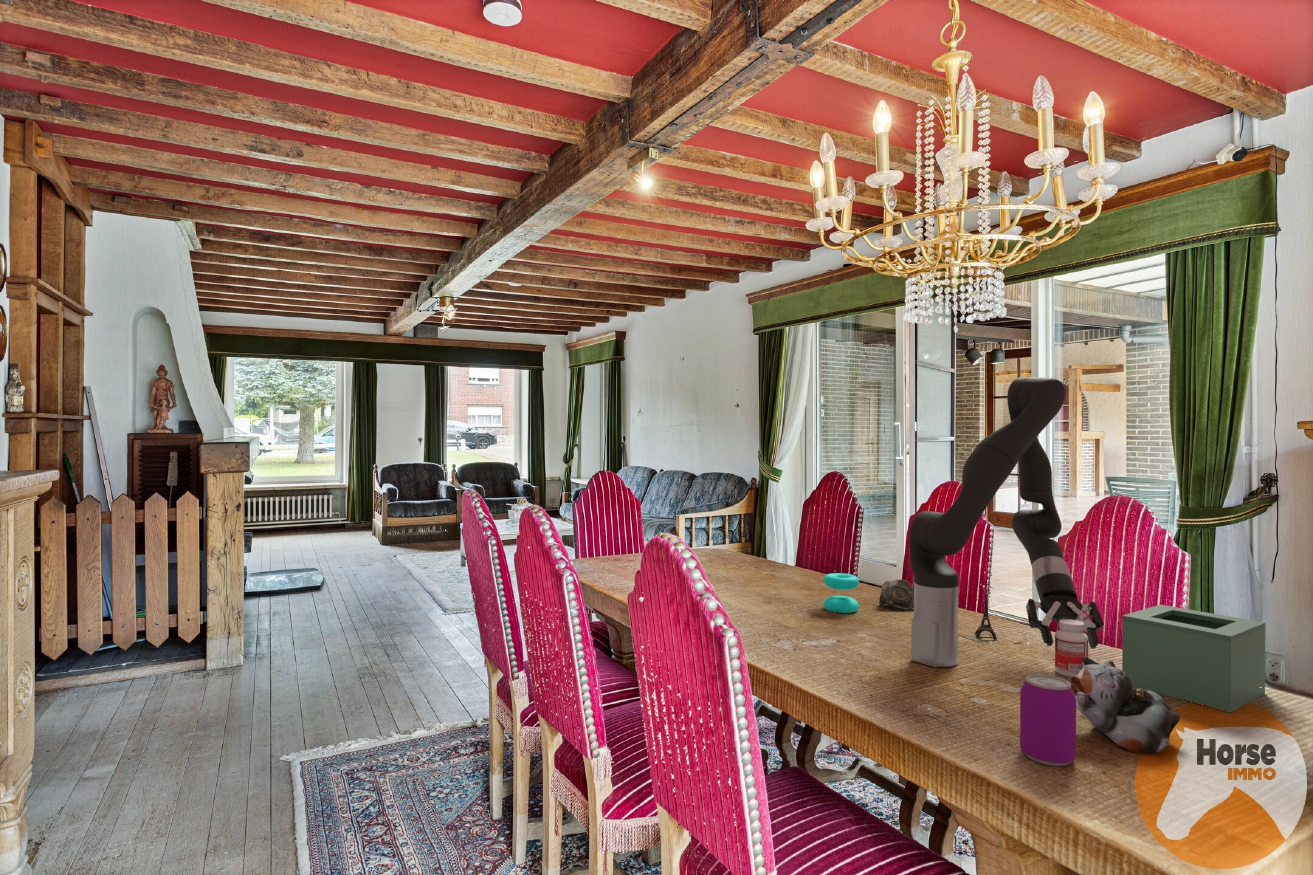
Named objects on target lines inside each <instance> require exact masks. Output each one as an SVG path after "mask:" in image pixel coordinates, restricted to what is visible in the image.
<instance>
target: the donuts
mask: <svg viewBox="0 0 1313 875" xmlns="http://www.w3.org/2000/svg"><path fill="white" fill-rule="evenodd" d="M823 583H824V585H825V586H827V587H828V588H830V589H833V590H838V591H839V590H841V591H850V590H853V589H855V588H857V587H858V586H859V584H860V580H859V578H858V577H857V576H856V575H853V574H851V573H844V572H843V573H841V572H839V573H837V572H836V573H834V572H833V573H828V574H826V575H824V576H823ZM822 605H823V608H824V609H825V610H826V611H828V610H829V611H828V612H831V611H833V612H832V613H836V612H838V613H837V614H852V612H853V613H855V612H857V611H858V610H859V609H860V608H859V607H860V605H859V602H858V601H857V600H856V599H855V598H854V597H850V596H846V595H845V596H844V595H832V596H829V597H826V598H825V599H824V600H823V602H822Z"/></svg>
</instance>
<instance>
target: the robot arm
mask: <svg viewBox="0 0 1313 875" xmlns="http://www.w3.org/2000/svg"><path fill="white" fill-rule="evenodd" d="M1066 391H1067V390H1066V386H1065V384H1064V383H1063V382H1062V381H1060V380H1059V379H1057V378H1054V377H1039V376H1036V377H1035V376H1021V377H1017V378H1015V379H1014V380H1012V382H1011V383H1010V384H1009V386H1008V389H1007V397H1006V398H1007V409H1008V413H1009V419H1010V422H1009V423H1007V424H1006V425H1004V426H1002V427H1000V428H998V429H997V430H995V431H993V432H991V434H989V435H987V436H986V437H984V438H983V439H982V440H980V442H979V443H978V444H977V445H976V446H975V448H974V449H973V450H972V452H970V454H969V456H968V457H967V458H966V460H965V462H964V465H963V468H962V471H961V472H962V474H961V488H960V492H959V494H958V495H957V497H956V499H955V500H954V502H953V503H952V504H951V506H950V507H949V508H948V509H947V510H946V511H945V512H937V511H927V510H926V511H925V510H924V511H921V512H919V513H917V514H916V515H915V516H914V517H913V519H912V522H911V524H910V528H909V538H908V539H909V558H910V560H909V561H910V568H911V571H912V574H913V581H914V582H913V586H914V587H913V588H914V608H913V617H912V618H911V629H910V630H911V639H910V641H911V643H910V644H911V645H910V647H911V648H910V649H911V650H910V654H911V656H910V657H911V658H910V659H911V661H913V662H917V663H920V664H923V665H926V666H929V667H933V668H937V667H940V668H941V667H943V668H944V667H945V668H947V667H953V666H956V665H958V664H959V662H958V660H959V658H958V657H959V656H958V655H959V654H958V653H959V642H958V641H959V635H958V634H959V574H958V573H957V571H956V570H954V569H953V567H951V566H950V565H949V564H948V562H947V560H946V557H950V556H954V555H956V554H958V553H959V552H960V551H962V549H963V548H964V547H965V545H966V544H967V542H968V541H969V539H970V537H971V536H972V534H973V532H974V530H975V528H976V526H977V524H978V522H979V521H980V518H981V517H982V515H983V514H984V512H985V510H986V509H987V507H988V506H989V505H990V503H991V501H992V500H993V498H994V496H995V495H996V493H997V492H998V490H1000V488H1001V486H1002V485H1003V484H1004V482H1006V480H1007V479H1008V478H1009V476H1010V475H1011V473H1012V472H1013V470H1014V469H1015V467H1016V466H1017V464H1018V478H1019V479H1018V484H1019V485H1018V486H1019V497H1020V498H1021V500H1024V501H1025V502H1028V503H1034V504H1040V505H1042V509H1041V508H1040V509H1021V510H1018V511H1016V512H1015V513H1014V514H1013V516H1012V518H1011V527H1012V530H1013V532H1014V534H1015V536H1016V537H1017V539H1018V541H1019V542H1020V543H1021V545H1022V546H1023V547H1024V549H1025V550H1026V553H1027V554H1028V558H1029V561H1030V564H1031V569H1032V570H1031V571H1032V577H1033V582H1034V584H1035V587H1036V592H1037V595H1038V598H1039V601H1035V599H1033V598H1028V600H1027V603H1026V605H1025V608H1026V614H1027V619H1028V624H1029V627H1030V628H1031V629H1034V628H1035V629H1038V630H1039V631H1040V634H1041V639H1042V642H1043V643H1044V644H1046V646H1047V647H1052V646H1053V644H1054V638H1053V634H1052V631H1051V627H1050V624H1051V622H1052V621H1055V622H1056V623H1059V620H1062V619H1071V620H1077V621H1081V622H1083V623H1084V631H1085V634H1086V635H1087V636H1088V645H1089V647H1090V649H1091V650H1092V649H1093V650H1094V649H1096V648H1097V647H1098V645H1099V643H1100V639H1099V636H1098V633H1097V632H1099V633H1100V632H1101V630H1102V629H1103V627H1104V626H1105V622H1104V620H1103V617H1102V615H1101V613H1100V611H1099V608H1098V606H1097V604H1096V602H1094V601H1090V602H1089V603H1081V601H1080V600H1079V599H1078V593H1077V591H1076V588H1075V585H1074V581H1073V579H1072V576H1071V573H1070V570H1069V567H1068V565H1067V562H1066V561H1065V557H1064V554H1063V552H1062V548H1061V545H1060V543H1059V542H1058V541H1056V540H1055V539H1054V538H1057V537H1058V536H1059V535H1060V534H1061V532H1062V527H1063V526H1062V521H1061V518H1060V515H1059V513H1058V510H1057V507H1056V503H1055V499H1054V496H1053V471H1052V465H1051V462H1050V458H1049V457H1048V455H1047V453H1046V451H1045V449H1044V448H1043V446H1042V444H1041V443H1040V441H1039V437H1038V436H1039V435H1040V434H1041V432H1042V431H1043V430H1044V429H1045V428H1046V427H1047V426H1048V425H1049V424H1050V423H1051V422H1052V421H1053V420H1054V418H1055V417H1056V416H1057V415H1058V413H1059V412H1060V410H1062V407H1063V405H1064V403H1065V400H1066V395H1067V394H1066V393H1067V392H1066ZM1038 609H1040V610H1041V611H1042V612H1043V613H1044V614H1045V616H1044V618H1043V619H1042V620H1039V618H1038V614H1037V612H1038V611H1039V610H1038ZM1082 610H1083V611H1084V612H1085V613H1084V612H1083V611H1082ZM1087 615H1088V616H1089V618H1088V616H1087Z"/></svg>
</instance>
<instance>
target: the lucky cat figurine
mask: <svg viewBox="0 0 1313 875" xmlns="http://www.w3.org/2000/svg"><path fill="white" fill-rule="evenodd" d="M1082 661H1083V662H1082V664H1081V669H1080V671H1079V674H1078V675H1077V676H1076V677H1075V676H1071V677H1068V681H1069V682H1070V684H1071V687H1072V690H1073V693H1074V695H1075V698H1076V709H1078V710H1079V712H1080V713H1081V715H1082V716H1083V717H1085V718H1086V719H1087V721H1089V723H1090V725H1091V728H1095V729H1097V730H1098V731H1100V732H1102V733H1103V734H1104V735H1106V736H1107V737H1108V738H1110V739H1111V740H1112V741H1113V742H1114V743H1115V744H1116V745H1117V746H1119V747H1121V748H1122V749H1124V750H1126V751H1127V752H1130V753H1135V754H1136V753H1137V754H1144V755H1153V753H1159V752H1161V751H1162V750H1164V749H1165V748H1166V747H1167V746H1168V745H1169V744H1170V743H1169V742H1170V736H1171V734H1172V732H1173V730H1174V729H1175V728H1176V725H1177V724H1178V723H1179V722H1180V719H1181V715H1180V714H1179V713H1177V712H1175V711H1173V710H1172V709H1171V708H1170V705H1169V704H1168V703H1167V700H1165V699H1164V698H1163V696H1161V695H1160V694H1157V693H1155V692H1153V691H1150V690H1145V689H1142V688H1140V689H1139V688H1135V687H1134V686H1133V684H1132V682H1131V680H1130V679H1129V677H1128V676H1127V674H1126V673H1125V672H1124V671H1122V669H1120V668H1118V667H1116V664H1115V662H1114V661H1112V660H1111V659H1106V660H1105V661H1104V663H1102V664H1100V663H1097V662H1096V661H1094V660H1093V659H1092V658H1089V657H1088V658H1087V657H1083V658H1082Z"/></svg>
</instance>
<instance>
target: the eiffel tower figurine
mask: <svg viewBox="0 0 1313 875" xmlns="http://www.w3.org/2000/svg"><path fill="white" fill-rule="evenodd" d="M984 593H985V594H984V608H983V615H982V619H981V623H979V626H978V628H977V629H976V630H975V632H974V633H973V635H974V636H975V637H973V636H966V637H965V638H966V639H969V640H972V641H975V642H977V643H980V642H985V643H982V645H983V644H984V645H991V644H1001V643H1002V642H1000V643H992V642H993V641H997V642H999V639H998V640H997V638H998V636H997V634H996V632H995V631H994V629H993V625H992V624H991V621H990V615H989V607H988V606H989V605H988V604H989V603H988V590H987V589H985V591H984ZM985 621H987V623H985ZM983 632H988V633H983ZM989 634H990V635H992V636H993V637H980V636H982V635H983V636H984V635H989ZM996 636H997V637H996ZM983 638H993V640H981V639H983ZM989 642H990V643H989ZM1001 645H1002V644H1001Z"/></svg>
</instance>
